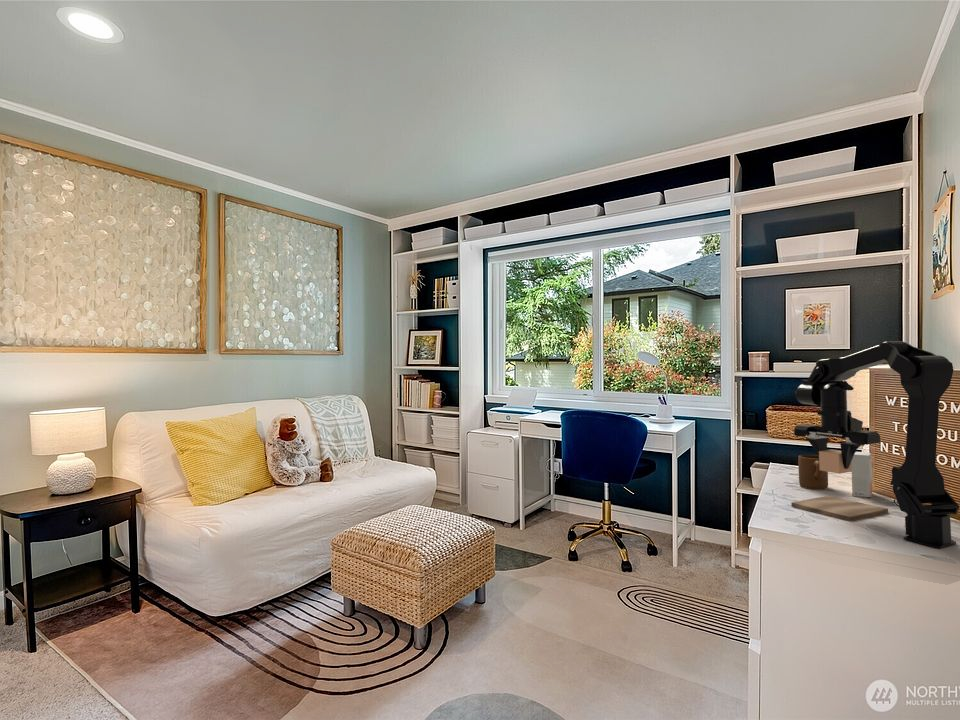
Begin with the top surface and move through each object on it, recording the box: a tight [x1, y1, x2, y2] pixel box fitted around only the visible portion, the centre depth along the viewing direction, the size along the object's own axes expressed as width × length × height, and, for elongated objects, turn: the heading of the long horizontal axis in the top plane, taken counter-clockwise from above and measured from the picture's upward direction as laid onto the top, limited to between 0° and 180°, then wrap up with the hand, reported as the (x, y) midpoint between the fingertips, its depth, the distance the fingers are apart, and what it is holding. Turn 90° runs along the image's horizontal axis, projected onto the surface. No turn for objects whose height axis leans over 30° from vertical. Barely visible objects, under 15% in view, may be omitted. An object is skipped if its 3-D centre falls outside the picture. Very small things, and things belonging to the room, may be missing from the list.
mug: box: [797, 454, 829, 491], centre depth 155 cm, size 12×8×9 cm, turn 160°
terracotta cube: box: [819, 449, 852, 474], centre depth 133 cm, size 5×5×5 cm
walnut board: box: [790, 495, 889, 522], centre depth 134 cm, size 15×15×1 cm
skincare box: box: [851, 451, 873, 498], centre depth 147 cm, size 6×4×12 cm
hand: (835, 466), depth 133 cm, fingers closed on terracotta cube, 5 cm apart
